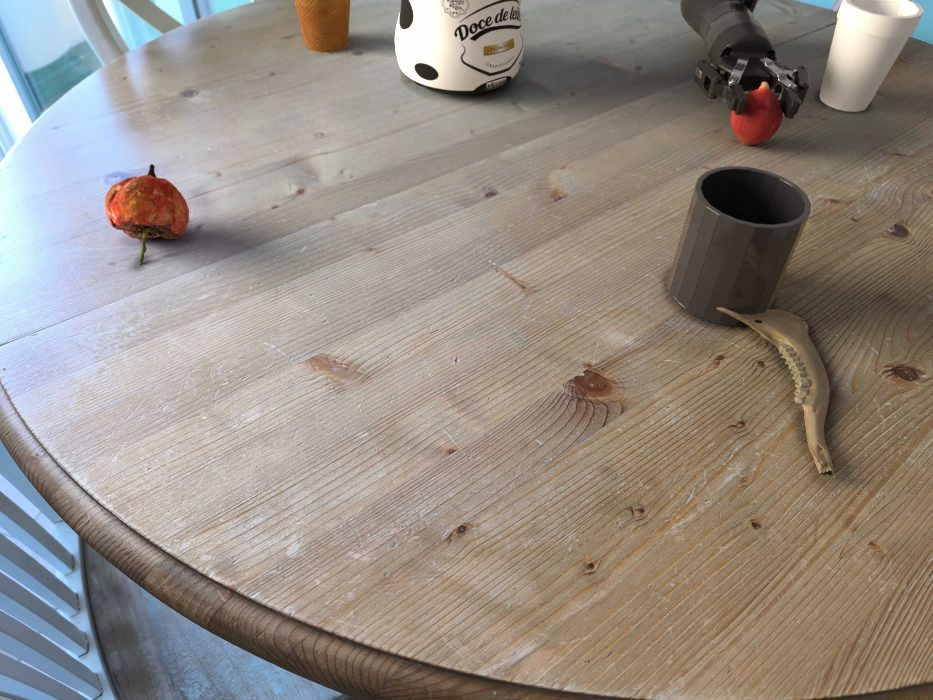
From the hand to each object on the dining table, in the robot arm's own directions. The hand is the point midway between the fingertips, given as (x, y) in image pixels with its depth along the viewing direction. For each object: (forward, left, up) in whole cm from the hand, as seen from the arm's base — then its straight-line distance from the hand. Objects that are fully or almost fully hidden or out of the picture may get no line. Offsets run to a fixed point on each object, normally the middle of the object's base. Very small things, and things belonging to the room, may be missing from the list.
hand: (767, 109), depth 87 cm
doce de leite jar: (+37, -17, -6) cm, 41 cm away
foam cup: (-16, -17, -6) cm, 24 cm away
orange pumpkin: (+64, +25, -6) cm, 69 cm away
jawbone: (+8, +39, -6) cm, 40 cm away
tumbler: (+9, +27, -6) cm, 30 cm away
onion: (0, -3, -6) cm, 7 cm away
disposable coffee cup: (+57, -25, -6) cm, 62 cm away
